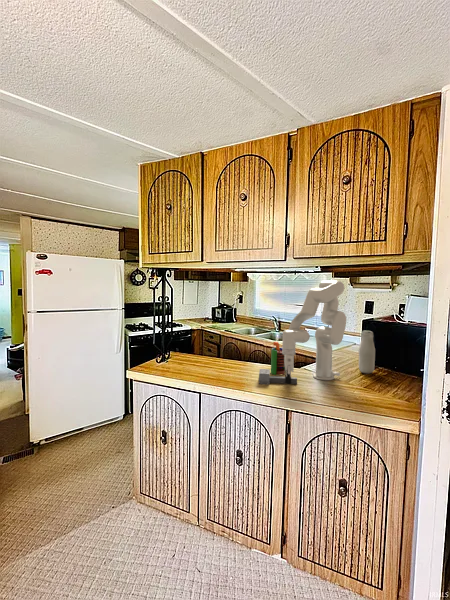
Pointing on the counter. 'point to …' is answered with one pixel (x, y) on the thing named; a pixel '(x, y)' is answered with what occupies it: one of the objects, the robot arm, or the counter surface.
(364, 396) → the counter surface
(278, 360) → the motor
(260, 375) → the housing
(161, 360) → the counter surface
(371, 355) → the light grey bottle
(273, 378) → the plug
